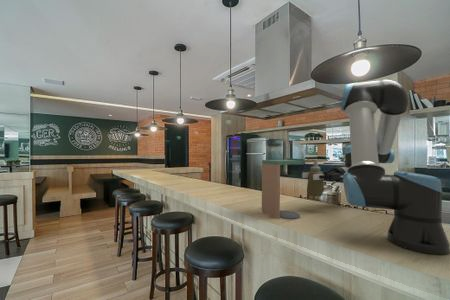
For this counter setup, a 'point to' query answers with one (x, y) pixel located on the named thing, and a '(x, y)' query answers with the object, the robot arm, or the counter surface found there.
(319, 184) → the squeeze bottle
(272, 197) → the green-topped pedestal
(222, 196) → the counter surface
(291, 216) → the coaster
